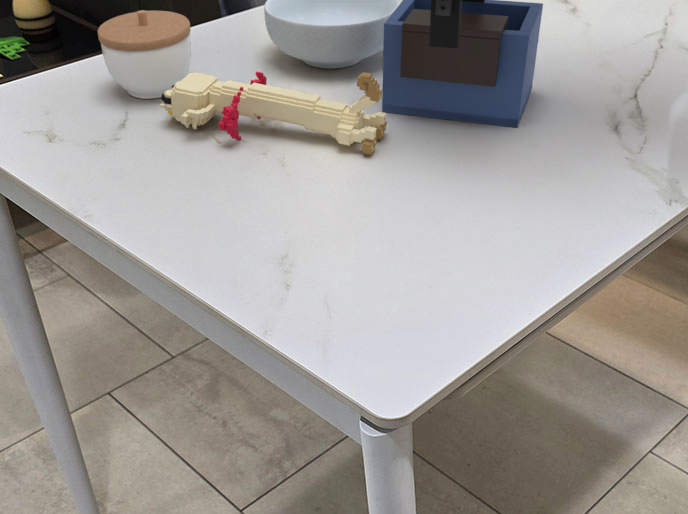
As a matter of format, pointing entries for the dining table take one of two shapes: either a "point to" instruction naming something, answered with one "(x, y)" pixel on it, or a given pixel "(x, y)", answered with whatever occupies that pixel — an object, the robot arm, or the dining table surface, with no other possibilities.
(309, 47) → the cereal bowl
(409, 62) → the dark brown block
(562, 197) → the dining table surface
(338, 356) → the dining table surface
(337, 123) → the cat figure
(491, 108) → the blue box
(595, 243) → the dining table surface
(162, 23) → the trinket box
